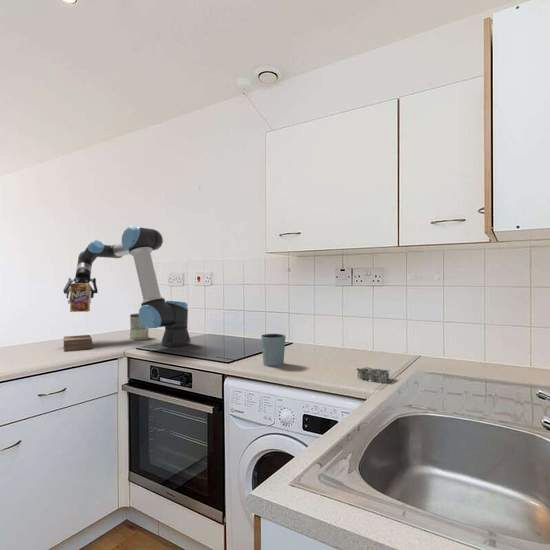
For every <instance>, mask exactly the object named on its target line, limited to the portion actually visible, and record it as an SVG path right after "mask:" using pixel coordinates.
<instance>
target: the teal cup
mask: <svg viewBox="0 0 550 550" xmlns="http://www.w3.org/2000/svg"><path fill="white" fill-rule="evenodd" d="M260 337H261V338H260V339H261V349H262V365H263V366H265V367H272V368H274V367H282V366H284V364H285V349H286V346H285V345H286V334H283V333H282V334H281V333H265V334H261V336H260Z"/></svg>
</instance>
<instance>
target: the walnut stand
mask: <svg viewBox="0 0 550 550" xmlns="http://www.w3.org/2000/svg"><path fill="white" fill-rule="evenodd" d="M90 349H91V350H92V349H93V338H92V337H91V335H90V334H83V335H82V334H81V335H69V336H66V335H65V336H63V351H79V350H90Z"/></svg>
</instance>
